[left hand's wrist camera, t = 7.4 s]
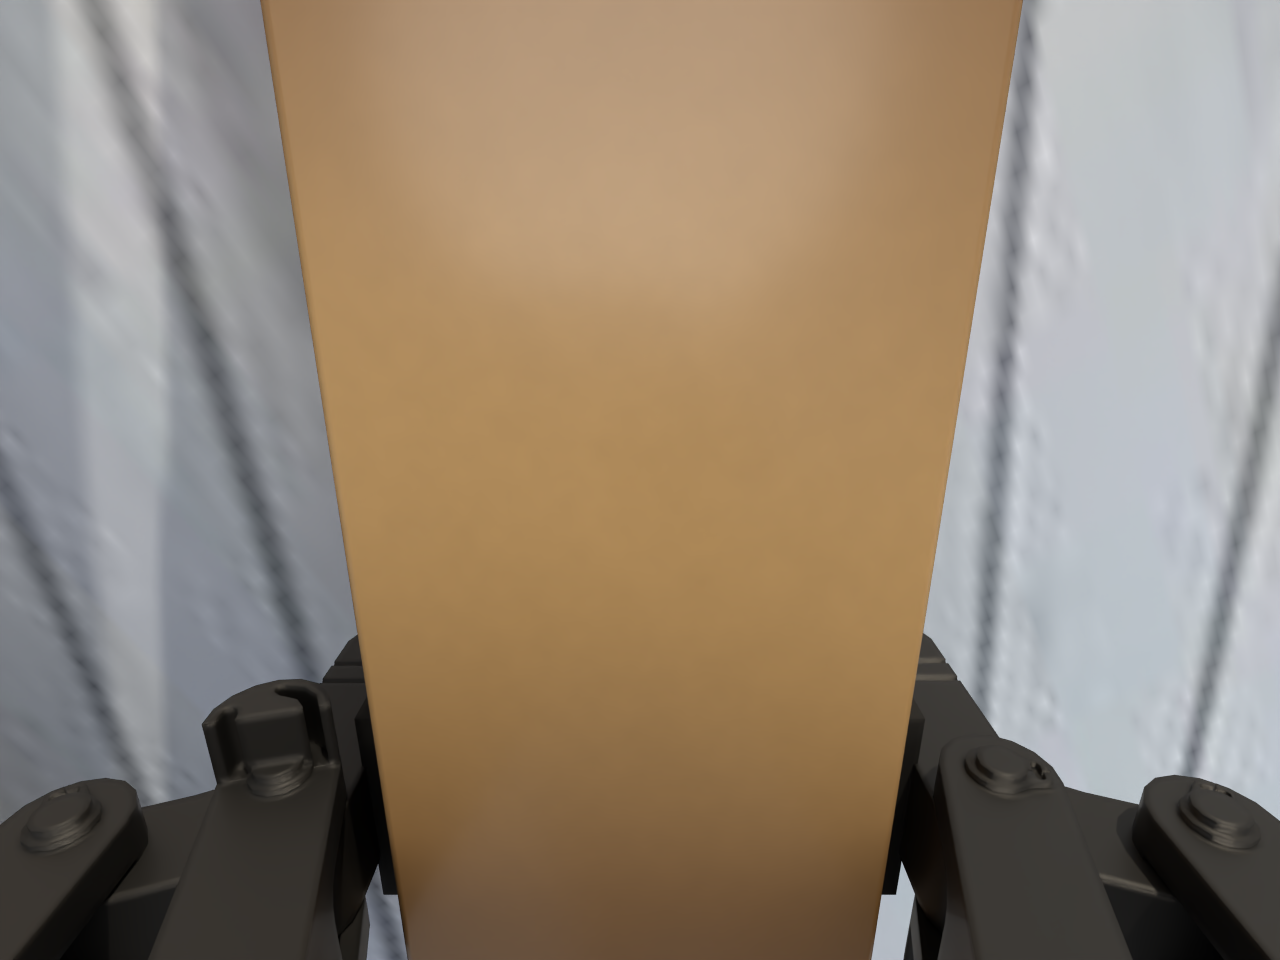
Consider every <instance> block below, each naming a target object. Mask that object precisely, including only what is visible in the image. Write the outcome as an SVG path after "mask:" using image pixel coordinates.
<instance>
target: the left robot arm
mask: <svg viewBox="0 0 1280 960" xmlns="http://www.w3.org/2000/svg"><path fill="white" fill-rule="evenodd" d="M202 727H203V731H204V735H205V739H206V743H207V747H208V750H209V754H210V758H211V762H212V766H213V770H214V774H215V778H216V782H217V785H216V788H215V790H212V791H208V792H205V793H202V794H198V795H195V796H190V797H186V798H181V799H177V800H173V801H168V802H164V803H159V804H155V805H151V806H146V807H142V808H141V805H140V802H139V799H138V795H137V792H136V790H135V789H134V788H133V787H132V786H130V785H129V784H128V783H127V782H126V781H122V780H115V779H109V778H102V779H95V780H88V781H81V782H78V783H75V784H72V785H68V786H66V787H62V788H60V789H57V790H54V791H51V792H50V793H48V794H46V795H44V796H42V797H40V798H38V799H36V800H35V801H33V802H31V803H29V804H27V805H25V806H24V807H22V808H21V809H20V810H19V811H17V812H16V813H15V814H13V815H12V816H11V817H10V818H8V819H7V820H6V821H4V822H3V823H2V824H1V825H0V960H366V958H367V948H368V938H369V928H370V922H369V915H368V908H367V903H366V897H365V895H366V892H367V890H368V887H369V885H370V882H371V880H372V877H373V875H374V872H375V870H376V867H377V865H378V864H379V870H380V876H381V882H382V888H383V894H384V895H398V893H397V886H396V880H395V873H394V867H393V860H392V854H391V847H390V841H389V834H388V828H387V821H386V815H385V808H384V802H383V795H382V789H381V782H380V776H379V769H378V763H377V756H376V750H375V743H374V737H373V730H372V724H371V717H370V711H369V704H368V698H367V691H366V685H365V678H364V672H363V665H362V659H361V652H360V646H359V639H358V635H356V636H355V637H354V638H352V639H351V640H349V641H348V643H347V644H346V646H345V647H344V649H343V650H342V651H341V653H340V654H339V656H338V657H337V659H336V660H335V664H334V666H331V668H330V669H329V670H328V672H327V673H326V675H325V676H324V678H323V683H320V684H319V683H315V682H311V681H307V680H303V679H290V680H277V681H273V682H268V683H264V684H260V685H256V686H253V687H251V688H249V689H247V690H244V691H242V692H240V693H238V694H235V695H233V696H231V697H230V698H229V699H227V700H226V701H224V702H223V703H222V704H220V705H219V706H217V707H216V708H215V709H213V711H212V712H211V713H210V714H209V716H208V717H207V718H206V720H205V721H204V722H203V723H202ZM901 861H902V863H903V865H904V868H905V870H906V873H907V875H908V878H909V880H910V882H911V885H912V887H913V890H914V892H915V897H914V903H913V908H912V914H911V919H910V925H909V931H908V936H907V942H906V947H905V953H904V960H1280V821H1279V820H1278V819H1277V818H1275V817H1274V816H1273V815H1271V814H1270V813H1269V812H1268V811H1266V810H1265V809H1264V808H1262V807H1261V806H1260V805H1258V804H1257V803H1256V802H1254V801H1252V800H1250V799H1248V798H1246V797H1244V796H1243V795H1241V794H1239V793H1237V792H1235V791H1233V790H1231V789H1229V788H1227V787H1224V786H1221V785H1219V784H1215V783H1213V782H1209V781H1206V780H1203V779H1200V778H1194V777H1186V776H1179V775H1171V776H1164V777H1157V778H1154V779H1153V780H1152V781H1151V782H1150V783H1149V784H1147V785H1146V786H1145V787H1144V790H1143V793H1142V797H1141V800H1140V803H1139V805H1138V804H1134V803H1129V802H1125V801H1121V800H1116V799H1112V798H1107V797H1103V796H1098V795H1094V794H1090V793H1085V792H1082V791H1078V790H1075V789H1072V788H1068V787H1065V786H1064V784H1063V782H1062V781H1061V779H1060V778H1059V776H1058V775H1057V773H1056V772H1055V770H1054V769H1053V767H1052V766H1051V765H1049V764H1048V763H1047V762H1046V761H1044V760H1043V759H1042V758H1041V757H1040V756H1038V755H1037V754H1036V753H1035V752H1033V751H1031V750H1029V749H1027V748H1025V747H1023V746H1021V745H1019V744H1017V743H1015V742H1013V741H1010V740H1006V739H1002V738H999V736H998V735H997V734H996V732H995V731H994V729H993V728H992V726H991V725H990V723H989V722H988V721H987V719H986V718H985V716H984V715H983V713H982V712H981V710H980V709H979V707H978V706H977V705H976V703H975V702H974V700H973V699H972V697H971V696H970V694H969V693H968V691H967V690H966V689H965V687H964V686H963V684H962V683H961V681H958V680H957V675H956V674H955V673H954V671H953V670H952V668H951V667H950V665H949V664H948V663H946V662H945V658H944V657H943V655H942V654H941V652H940V651H939V649H938V648H937V646H936V645H935V644H934V642H933V641H932V639H931V638H929V637H928V636H927V635H925V634H924V633H923V635H922V642H921V648H920V654H919V661H918V667H917V673H916V680H915V686H914V692H913V698H912V705H911V711H910V717H909V724H908V730H907V736H906V743H905V749H904V755H903V762H902V768H901V774H900V781H899V787H898V793H897V800H896V806H895V812H894V819H893V825H892V831H891V838H890V844H889V850H888V857H887V863H886V869H885V876H884V882H883V888H882V895H896V891H897V885H898V879H899V873H900V867H901Z"/></svg>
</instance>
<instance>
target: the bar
mask: <svg viewBox="0 0 1280 960" xmlns="http://www.w3.org/2000/svg"><path fill="white" fill-rule="evenodd" d="M260 1H261V8H262V14H263V21H264V27H265V34H266V40H267V47H268V53H269V60H270V66H271V73H272V79H273V86H274V92H275V99H276V105H277V112H278V118H279V125H280V131H281V138H282V144H283V151H284V157H285V164H286V170H287V177H288V183H289V190H290V196H291V203H292V209H293V216H294V222H295V229H296V235H297V242H298V248H299V255H300V261H301V268H302V274H303V281H304V287H305V294H306V301H307V307H308V314H309V320H310V327H311V333H312V340H313V346H314V353H315V359H316V366H317V372H318V379H319V385H320V392H321V398H322V405H323V411H324V418H325V424H326V431H327V437H328V444H329V450H330V457H331V463H332V470H333V476H334V483H335V489H336V496H337V502H338V509H339V515H340V522H341V528H342V535H343V541H344V548H345V554H346V561H347V567H348V574H349V580H350V587H351V593H352V600H353V606H354V613H355V619H356V626H357V633H358V639H359V646H360V652H361V659H362V665H363V672H364V678H365V685H366V691H367V698H368V704H369V711H370V717H371V724H372V730H373V737H374V743H375V750H376V756H377V763H378V769H379V776H380V782H381V789H382V795H383V802H384V808H385V815H386V821H387V828H388V834H389V841H390V847H391V854H392V860H393V867H394V873H395V880H396V886H397V893H398V899H399V906H400V912H401V919H402V925H403V932H404V938H405V945H406V951H407V958H408V960H871V958H872V952H873V945H874V939H875V933H876V926H877V920H878V914H879V907H880V901H881V895H882V888H883V882H884V876H885V869H886V863H887V857H888V850H889V844H890V838H891V831H892V825H893V819H894V812H895V806H896V800H897V793H898V787H899V781H900V774H901V768H902V762H903V755H904V749H905V743H906V736H907V730H908V724H909V717H910V711H911V705H912V698H913V692H914V686H915V680H916V673H917V667H918V661H919V654H920V648H921V642H922V635H923V629H924V623H925V616H926V610H927V604H928V597H929V591H930V585H931V578H932V572H933V566H934V559H935V553H936V547H937V540H938V534H939V528H940V521H941V515H942V509H943V502H944V496H945V490H946V483H947V477H948V471H949V464H950V458H951V452H952V445H953V439H954V433H955V426H956V420H957V414H958V407H959V401H960V395H961V388H962V382H963V376H964V370H965V363H966V357H967V351H968V344H969V338H970V332H971V325H972V319H973V313H974V306H975V300H976V294H977V287H978V281H979V275H980V268H981V262H982V256H983V249H984V243H985V237H986V230H987V224H988V218H989V211H990V205H991V199H992V192H993V186H994V180H995V173H996V167H997V161H998V154H999V148H1000V142H1001V135H1002V129H1003V123H1004V116H1005V110H1006V104H1007V97H1008V91H1009V85H1010V78H1011V72H1012V66H1013V60H1014V53H1015V47H1016V41H1017V34H1018V28H1019V22H1020V15H1021V9H1022V3H1023V0H260Z"/></svg>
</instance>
